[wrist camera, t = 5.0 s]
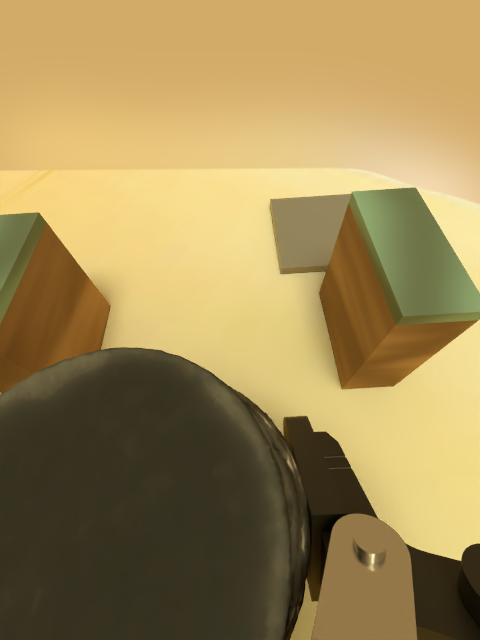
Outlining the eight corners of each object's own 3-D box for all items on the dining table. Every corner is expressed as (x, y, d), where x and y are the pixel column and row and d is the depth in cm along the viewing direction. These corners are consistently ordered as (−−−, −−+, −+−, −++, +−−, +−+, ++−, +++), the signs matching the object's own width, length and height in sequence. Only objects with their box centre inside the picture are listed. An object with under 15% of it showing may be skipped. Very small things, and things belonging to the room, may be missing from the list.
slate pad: (280, 273, 21) (281, 268, 21) (270, 205, 26) (270, 199, 25) (387, 266, 21) (391, 261, 21) (359, 199, 26) (361, 193, 25)
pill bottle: (171, 417, 15) (27, 273, 5) (291, 450, 14) (376, 346, 4) (113, 570, 12) (-494, 886, 2) (262, 628, 10) (343, 1729, 1)
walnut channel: (37, 407, 17) (-109, 347, 10) (68, 308, 21) (-23, 216, 14) (393, 386, 17) (490, 311, 10) (361, 290, 20) (415, 187, 14)
